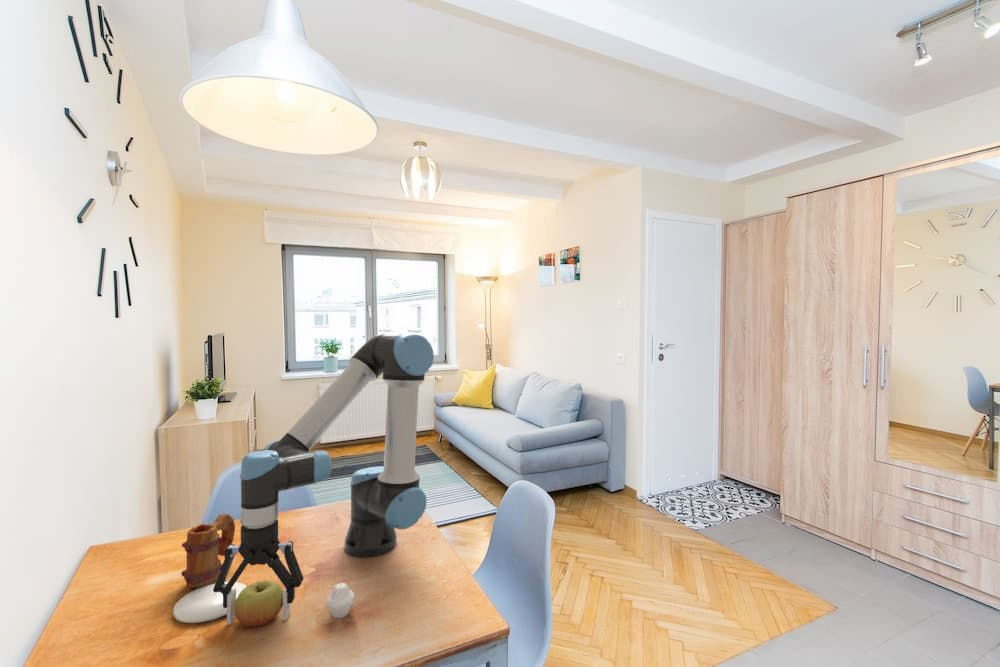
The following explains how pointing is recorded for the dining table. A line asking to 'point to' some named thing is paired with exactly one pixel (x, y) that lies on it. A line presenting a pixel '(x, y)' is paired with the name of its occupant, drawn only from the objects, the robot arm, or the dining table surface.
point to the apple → (259, 603)
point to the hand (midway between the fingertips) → (259, 618)
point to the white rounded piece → (340, 600)
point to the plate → (203, 604)
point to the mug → (207, 550)
